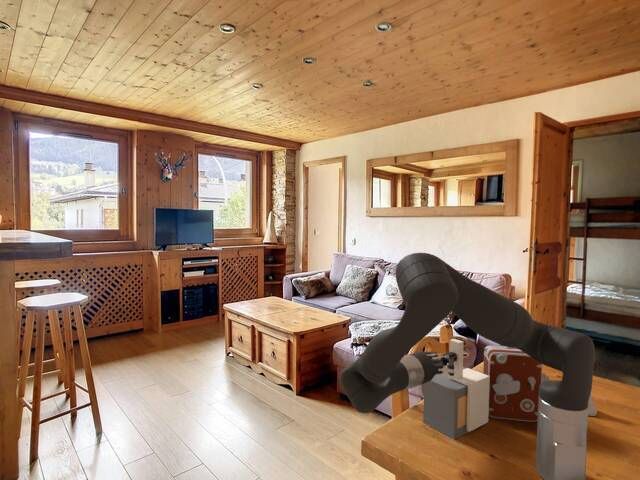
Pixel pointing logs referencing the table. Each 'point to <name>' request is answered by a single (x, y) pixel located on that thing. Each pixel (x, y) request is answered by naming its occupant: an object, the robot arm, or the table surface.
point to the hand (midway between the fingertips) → (454, 356)
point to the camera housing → (446, 405)
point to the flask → (591, 407)
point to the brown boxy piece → (513, 383)
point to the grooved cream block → (471, 388)
